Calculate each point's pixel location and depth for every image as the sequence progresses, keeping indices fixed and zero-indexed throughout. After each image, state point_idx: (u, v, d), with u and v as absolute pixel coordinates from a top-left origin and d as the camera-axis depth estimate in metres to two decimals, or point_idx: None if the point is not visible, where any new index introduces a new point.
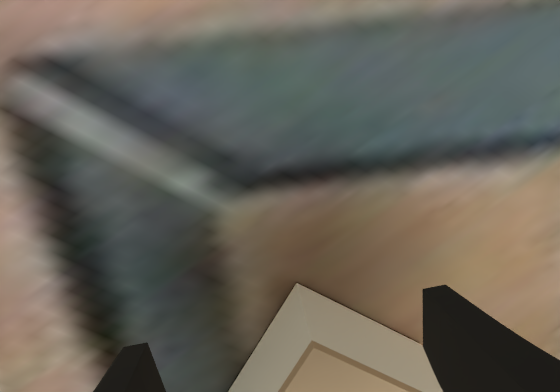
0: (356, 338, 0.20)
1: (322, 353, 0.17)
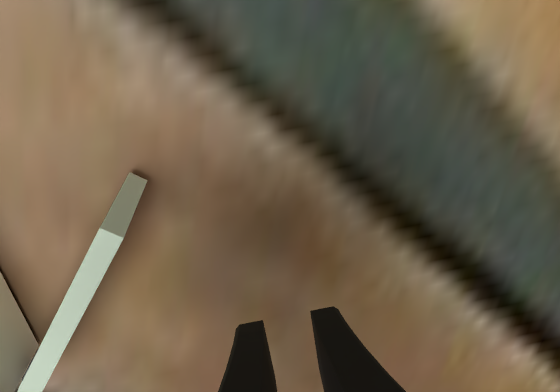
0: None
1: None
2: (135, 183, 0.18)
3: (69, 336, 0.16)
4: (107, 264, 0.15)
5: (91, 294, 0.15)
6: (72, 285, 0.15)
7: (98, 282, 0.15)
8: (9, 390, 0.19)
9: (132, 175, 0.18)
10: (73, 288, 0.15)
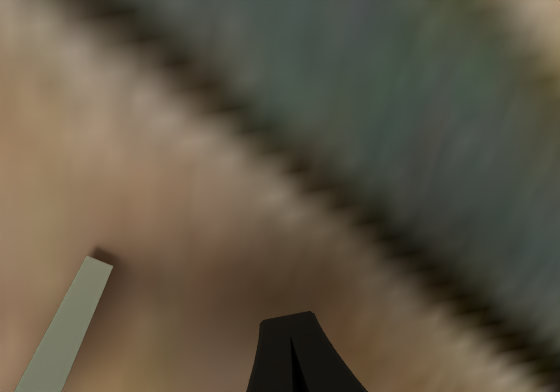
0: None
1: None
2: (93, 275, 0.12)
3: None
4: None
5: None
6: None
7: None
8: None
9: (90, 261, 0.13)
10: None
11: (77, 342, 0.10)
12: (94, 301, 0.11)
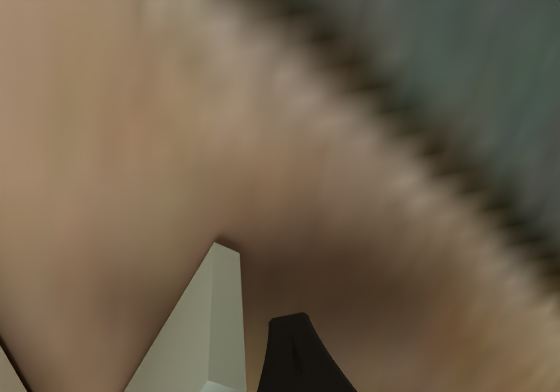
0: None
1: None
2: (227, 262, 0.12)
3: None
4: None
5: None
6: None
7: None
8: None
9: (219, 248, 0.12)
10: None
11: (240, 330, 0.10)
12: (237, 288, 0.11)
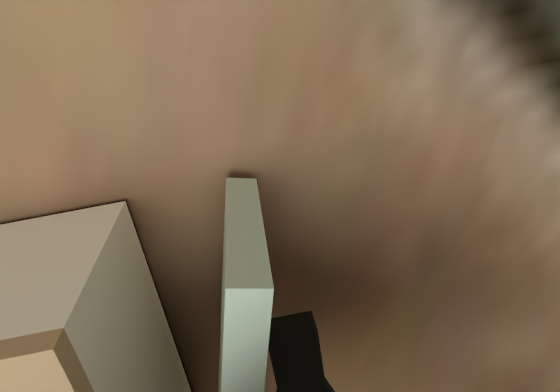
0: None
1: None
2: (242, 189, 0.11)
3: None
4: (265, 343, 0.08)
5: None
6: None
7: (262, 377, 0.08)
8: None
9: (232, 180, 0.11)
10: None
11: (261, 239, 0.09)
12: (256, 206, 0.10)
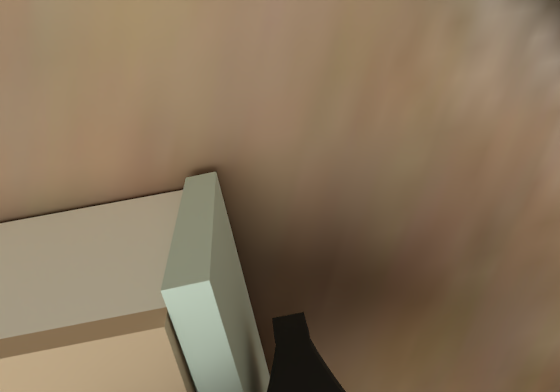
0: None
1: None
2: (199, 186, 0.11)
3: None
4: (222, 336, 0.08)
5: (239, 391, 0.08)
6: None
7: (233, 369, 0.08)
8: None
9: (191, 179, 0.11)
10: None
11: (208, 232, 0.09)
12: (210, 200, 0.10)
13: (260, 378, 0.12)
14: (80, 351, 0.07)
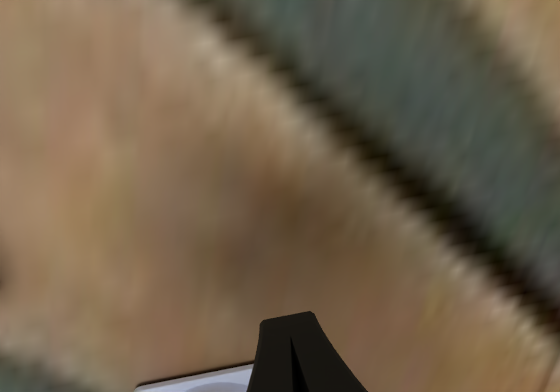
0: None
1: None
2: None
3: None
4: None
5: None
6: None
7: None
8: None
9: None
10: None
11: None
12: None
13: None
14: None
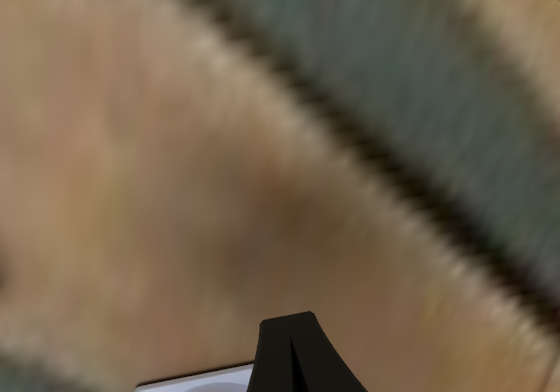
0: None
1: None
2: None
3: None
4: None
5: None
6: None
7: None
8: None
9: None
10: None
11: None
12: None
13: None
14: None
